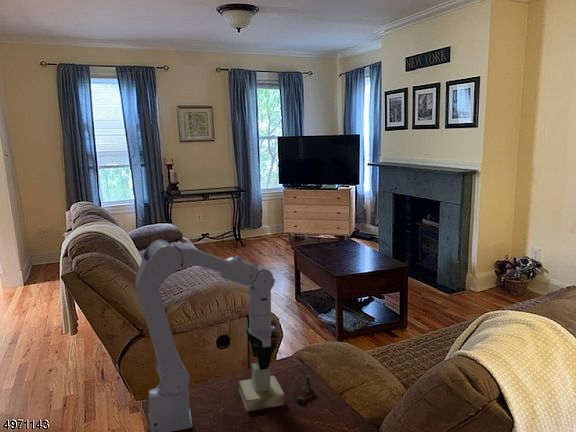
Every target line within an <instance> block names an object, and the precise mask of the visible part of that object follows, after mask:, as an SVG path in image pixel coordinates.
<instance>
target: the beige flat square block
mask: <svg viewBox="0 0 576 432" xmlns="http://www.w3.org/2000/svg"><path fill="white" fill-rule="evenodd" d="M238 392H239V396H240V397H241V401H242V403H243V406H244V408H245V411H246V412H252V411H256V410H264V409H268V408H269V407H270V408H274V407H279V406H285V404H286V403H285V401H286V399H285V392H284V391H283V388H282V387H281V385H280V383H279V382H278V380H277V378H276V376H275V375H270V390H267V391H261V392H255V390H254V388H253V386H252V378H250V379H243V380H239V381H238ZM270 408H269V409H270Z"/></svg>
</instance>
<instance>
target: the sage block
mask: <svg viewBox="0 0 576 432" xmlns="http://www.w3.org/2000/svg"><path fill="white" fill-rule="evenodd" d="M270 376H271V367H270V366H269V368H268V369H264V370H260V367H259V363H258V362H254V363H251V379H252V386H253V388H254V390H255V392H261V391H267V390H270Z"/></svg>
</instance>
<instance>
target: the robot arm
mask: <svg viewBox="0 0 576 432" xmlns="http://www.w3.org/2000/svg"><path fill="white" fill-rule="evenodd" d="M191 265H195V266H197V267H202V268H204V269H205V268H206V269H208V270H212V271H215V272H218V273H220V274H221V277H222V279H225V280H226V281H229V282H234V283H237V284H240V285H243V286H248V321H249V322H248V328H247V329H246V330H245V333H246V335H247V336H248V339H249V342H250V349H251V352H252V356H253V357H254V358H256V357H257V363H259V367H260V370H264V369H268V368H269V367H270V364H271V359H272V355H273V353H274V351H275V350H276V348H277V343H276V342H275V341H273V342H272V339H271V336H272V332H275V331H276V327H275V325H272V291H271V290H272V289H273V287H274V286H275V283H276V279H275V278H274V275H273V273H272V272H271V271H270V270H269V269H267V268H265V267H263V266H262V265H259V264H258V263H256V262H248V261H245V260H243V258H242V256H239V255H235V256H229V257H227V258H222V257H218V256H215V255H213V254H210V253H207V252H204V251H202V250H200V249H197V248H196V247H195V248H194V247H192V246H189V245H185V244H182V243H181V244H180V243H179V242H178V243H177V242H171V243H170V242H169V241H167V240H165V239H156V240H154V241H152V242H151V243H150V244H149V245H148V246H147V247H146V249H145V250H144V251H143V253H142V255H141V262H140V265H139V267H138V271H137V274H136V277H135V281H134V285H135V289H136V292H137V296H138V299H139V301H140V305H141V308H142V312H143V315H144V318H145V321H146V325H147V328H148V331H149V335H150V338H151V341H152V345H153V348H154V352H155V353H154V354H155V358H156V364H155V371H156V374H157V376H158V377H159V381H158V383H157V386H156V387H155V388H152V389H149V390H148V409H149V410H148V412H149V413H148V422H149V430H150V431H149V432H176V431H182V430H188V429H192V428H193V421H192V420H193V419H192V413H191V408H190V392H189V390H190V389H189V388H190V387H189V384H190V381H191V375H190V373H189V371H188V370H187V369H186V367H185V365H184V363H183V362H182V359H181V357H180V354H179V353H178V350H177V347H176V342H175V339H174V337H173V333H172V330H171V326H170V323H169V319H168V315H167V313H166V309H165V305H164V302H163V298H162V295H161V291H160V287H161V286H162V285H163V283H164V282H165V280H166V279H168V278H169V277H171V276H172V275H173V274H174V273H175V272H176V271H178V270H179V268H180V267H181V268H182V269H185V268H187V267H189V266H191Z"/></svg>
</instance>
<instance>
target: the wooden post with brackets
mask: <svg viewBox="0 0 576 432" xmlns="http://www.w3.org/2000/svg"><path fill="white" fill-rule="evenodd" d="M311 388H312V385H311V375H310V374H307V375H306V378H305V381H304V383H303V386H302V388H301V393H300V395H299V396H298V397H297V398H296V399H297V403H303V404H304V403H305V396H307V395H309V393H310V389H311Z"/></svg>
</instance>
